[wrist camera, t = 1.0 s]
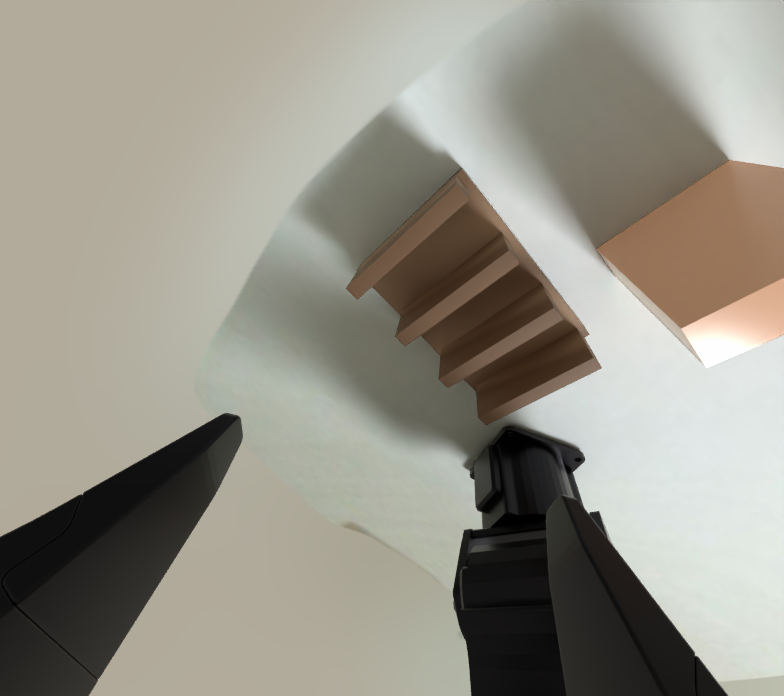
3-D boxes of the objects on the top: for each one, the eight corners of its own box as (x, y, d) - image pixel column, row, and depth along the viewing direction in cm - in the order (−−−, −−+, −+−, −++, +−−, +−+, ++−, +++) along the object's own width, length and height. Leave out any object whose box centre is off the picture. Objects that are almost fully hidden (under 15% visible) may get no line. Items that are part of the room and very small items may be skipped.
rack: (584, 326, 21) (607, 365, 17) (478, 385, 24) (481, 427, 21) (462, 167, 17) (462, 179, 14) (360, 264, 21) (342, 292, 18)
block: (746, 195, 16) (969, 254, 9) (614, 276, 19) (706, 368, 12) (729, 160, 15) (953, 193, 8) (596, 248, 18) (681, 328, 11)
